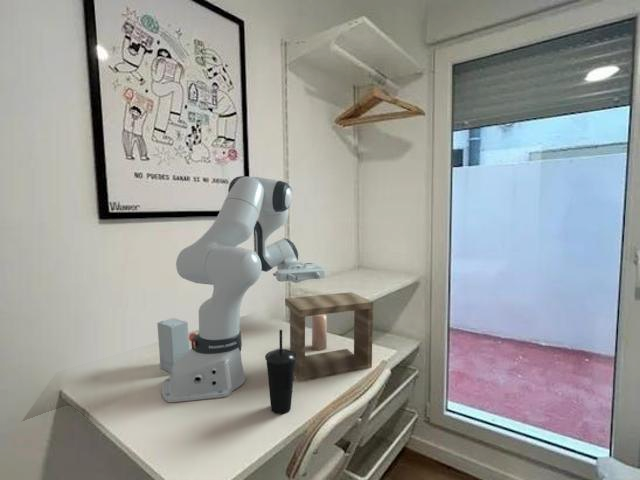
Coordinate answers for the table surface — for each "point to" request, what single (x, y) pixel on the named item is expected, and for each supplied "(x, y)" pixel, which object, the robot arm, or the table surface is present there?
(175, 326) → the skincare box
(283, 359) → the drinking cup
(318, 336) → the peach tapered cylinder
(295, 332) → the under counter shelf
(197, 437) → the table surface
